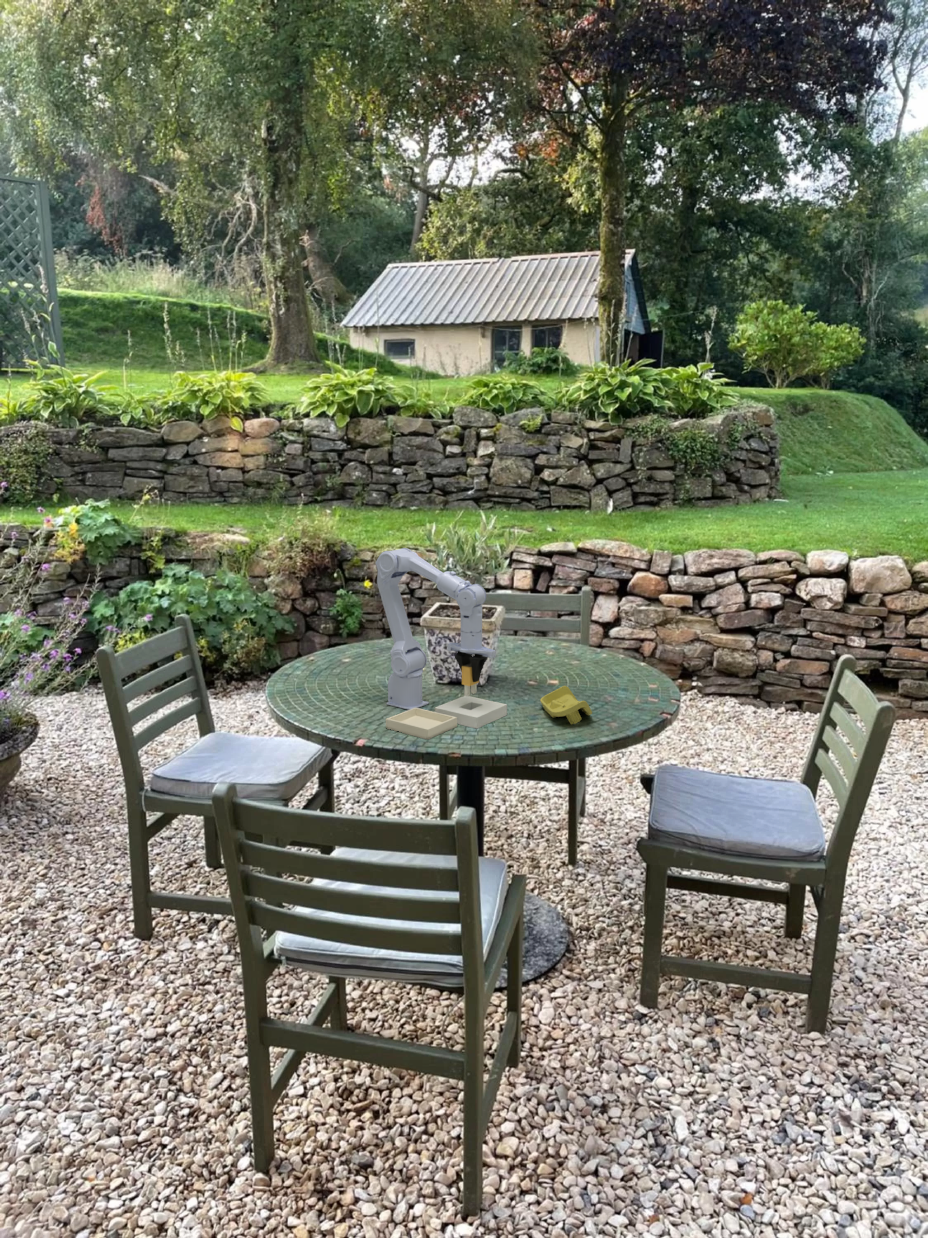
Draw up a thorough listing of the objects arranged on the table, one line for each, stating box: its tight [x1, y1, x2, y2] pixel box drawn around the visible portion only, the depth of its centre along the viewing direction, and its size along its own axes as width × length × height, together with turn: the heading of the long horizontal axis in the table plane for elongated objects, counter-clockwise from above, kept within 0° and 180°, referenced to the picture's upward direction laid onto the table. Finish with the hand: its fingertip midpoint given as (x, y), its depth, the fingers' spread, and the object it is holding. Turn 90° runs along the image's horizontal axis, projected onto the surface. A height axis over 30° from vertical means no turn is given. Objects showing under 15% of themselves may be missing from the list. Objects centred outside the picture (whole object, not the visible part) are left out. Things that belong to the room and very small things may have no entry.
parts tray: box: [385, 707, 458, 740], centre depth 214 cm, size 14×12×3 cm
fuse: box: [461, 663, 480, 696], centre depth 221 cm, size 3×4×8 cm, turn 144°
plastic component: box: [540, 685, 593, 725], centre depth 223 cm, size 20×7×10 cm
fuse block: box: [434, 695, 508, 729], centre depth 223 cm, size 14×14×3 cm
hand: (471, 680), depth 221 cm, fingers closed on fuse, 3 cm apart
